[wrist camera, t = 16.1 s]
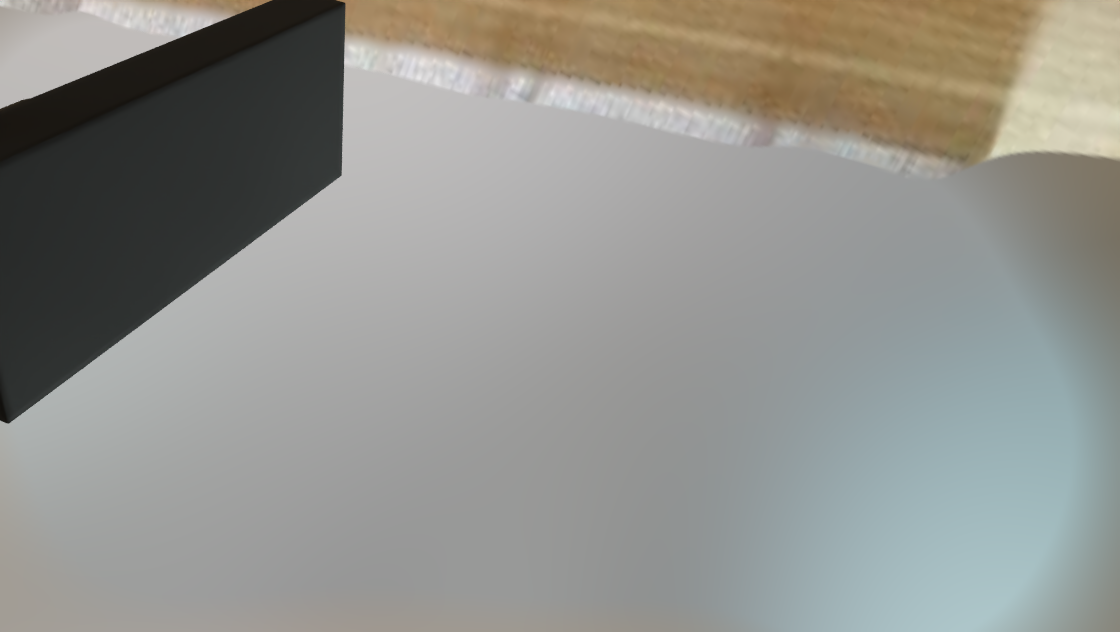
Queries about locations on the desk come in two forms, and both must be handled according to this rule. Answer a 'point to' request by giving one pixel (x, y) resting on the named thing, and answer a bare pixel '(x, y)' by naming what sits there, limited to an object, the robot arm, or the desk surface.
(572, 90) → the desk surface
